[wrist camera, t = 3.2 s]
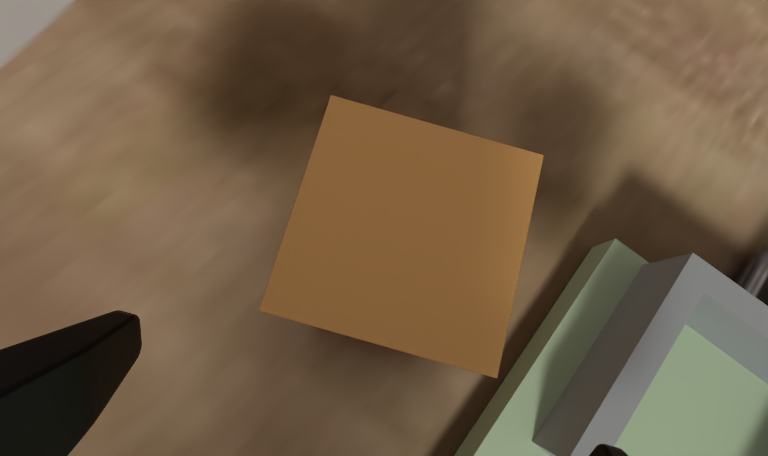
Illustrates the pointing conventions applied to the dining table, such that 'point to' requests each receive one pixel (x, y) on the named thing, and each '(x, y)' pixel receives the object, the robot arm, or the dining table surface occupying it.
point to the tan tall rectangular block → (407, 236)
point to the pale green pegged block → (637, 366)
